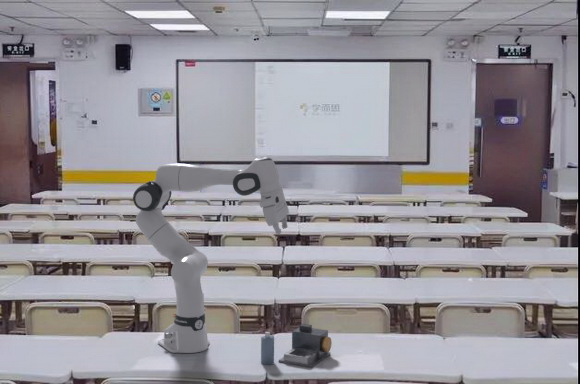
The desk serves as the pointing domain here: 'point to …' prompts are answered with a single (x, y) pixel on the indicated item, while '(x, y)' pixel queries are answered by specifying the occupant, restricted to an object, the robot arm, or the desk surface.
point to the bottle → (267, 349)
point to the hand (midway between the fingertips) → (282, 231)
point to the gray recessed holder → (308, 346)
